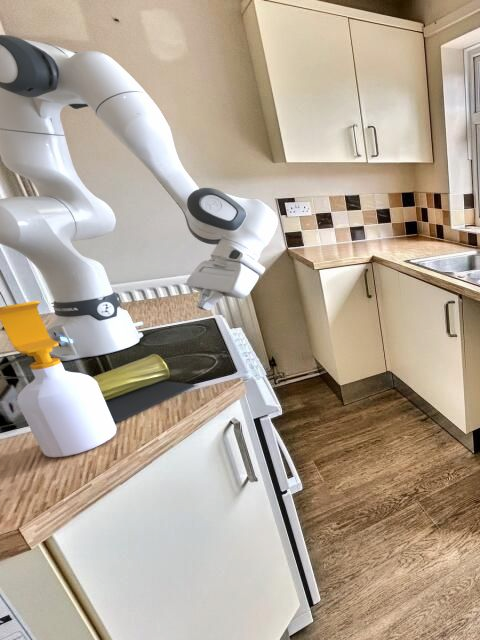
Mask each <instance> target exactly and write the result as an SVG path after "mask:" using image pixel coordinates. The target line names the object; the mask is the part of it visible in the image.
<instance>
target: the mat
mask: <svg viewBox="0 0 480 640" xmlns="http://www.w3.org/2000/svg"><path fill="white" fill-rule="evenodd" d="M193 387H195V385H194V384H193V383H185V382H178V381H177V382H176V381H170V380H169V381H168V380H163V381H160V382H157V383H154V384H151V385H148V386H146V387H143V388H140V389H137V390H134V391H131V392H128V393H126V394H123V395H120V396H117V397H114V398H111V399H109V400H106V401H105V402H106V405H107V407H108V409H109V412H110V414H111V416H112V419H113V421H114V423H115V424H118V423H120V422H123V421H125V420H127V419H128V418H130V417H133V416H134V415H138V414H139V413H141V412H143V411H145V410H148V409H149V408H152V407H153V406H156V405H158V404H161V403H162V402H164V401H166V400H168V399H170V398H173V397H174V396H177V395H179V394H180V393H183V392H185V391H188V390H189V389H192V388H193Z"/></svg>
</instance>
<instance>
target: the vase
mask: <svg viewBox="0 0 480 640" xmlns="http://www.w3.org/2000/svg"><path fill="white" fill-rule="evenodd" d="M91 377H92V378H93V379H94V380H95V381H96V382H97V384H98V386H99V388H100V391H101V393H102V395H103V398H104V400H105V401H106V400H109V399H111V398H114V397H117V396H120V395H123V394H126V393H128V392H131V391H134V390H137V389H140V388H143V387H146V386H148V385H151V384H154V383H157V382H160V381H167V380H168V379H169V378H170V370H169V366H168V365H167V363H166V362H165V360H164V359H163V358H162V357H161V356H160V355H158V354H156V353H152V354H150V355H148V356H146V357H144V358H141V359H137V360H135V361H133V362H129V363H127V364H124V365H122V366H119V367H116V368H114V369H110V370H107V371H106V372H102V373H99V374H97V375H94V376H91Z"/></svg>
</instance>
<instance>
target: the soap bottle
mask: <svg viewBox="0 0 480 640" xmlns="http://www.w3.org/2000/svg"><path fill="white" fill-rule="evenodd" d="M40 304H41V303H40V301H39V300H32V301H27V302H22V303H21V302H20V303H15V304H9V305H4V306H0V323H1V325H2V328H3V327H4V329H3V330H4V331H5V333H6V335H7V337H8V340H9V341H10V343H11V345H12V347H13V348H14V349H15V351H17V352H19V353H20V354H22V355H25V354H26V355H27V357H33V359H34V360H35V361H34V362H31V364H29V367H30V370H31V372H32V374H33V377H34V379H33V380H32V381H31V382H29V383H28V384H27V385H25V386H24V387H23V389H22V390H20V392H18V394H17V397H16V404H17V406H18V407H19V410H20V411H21V414H22V415H23V417H24V419H25V421H26V423H27V425H28V427H29V429H30V431H31V433H32V434H33V437H34V438H35V441H36V443H37V445H38V446H39V448H40V450H41V452H42V454H44V456H46V457H49V458H62V457H63V458H64V457H70V456H73V455H78V454H81V453H85V452H87V451H90V450H93V449H95V448H97V447H99V446H101V445H103V444H104V443H106V442H108V441H109V440H111V439H112V438H113V437H114V436H115V435H116V434H117V425H116V423H115V422H114V421H113V419H112V416H111V414H110V412H109V409H108V407H107V405H106V402H105V400H104V398H103V395H102V393H101V391H100V388H99V386H98V384H97V382H96V381H95V380H94V379H93V378H92V377H93V376H90V375H88V374H85V373H81V372H74V371H68V370H65V368H64V364H63V363H62V360H60V359H59V358H53V357H50V355H49V352H51V351H53V350H52V347H56V346H58V345H59V344H58V342H56V341H54V340H52V339H51V338H50V336H49V334H48V332H47V327H46V325H45V324H44V322H43V319H42V317H41V314H40V313H39V310H38V307H39V305H40Z"/></svg>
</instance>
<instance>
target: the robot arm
mask: <svg viewBox="0 0 480 640" xmlns="http://www.w3.org/2000/svg"><path fill="white" fill-rule="evenodd" d="M67 106H69V107H71V108H72V109H75V110H78V109H83V108H89V109H90V110H91V111H92V112H93V113H94V115H95V116H96V117H97V118H98V120H100V121H101V123H102V125H104V126H105V127H106V128H107V129H108V131H109V132H110V133H111V134H113V136H115V138H116V139H117V140H118V141H119V142H120V143H122V144H123V145H124V146H125V148H127V150H129V151H130V152H131V153H132V155H134V157H136V158H137V159H138V161H140V162H141V163H142V164H143V166H145V167H146V169H147V170H149V171H150V172H151V174H152V175H153V176H154V177H155V179H156V180H157V182H159V183H160V184H161V186H162V187H163V188H164V190H165V191H166V192H167V193H168V195H169V196H170V197H171V198H172V199H173V201H174V202H175V203H176V204H177V205H178V207H179V208H180V209H181V211H182V213H183V215H184V217H185V218H184V219H185V221H186V226H187V228H188V231H189V233H190V234H191V235H192V236H193V237H194V238H195V239H196V240H198V241H200V242H201V243H204V244H208V245H213V246H215V245H216V246H215V248H214V249H213V250H212V252H211V253H210V259H208V260H203V261H202V262H200V263H199V264H198V265H197V267H195V268H194V270H193V271H192V273H190V275H189V277H188V278H187V280H186V286H187V287H189V288H191V289H193V290H194V291H197V292H199V293H200V294H199V300H198V301H197V304H196V305H195V306H196V308H198V309H200V310H203V311H208V312H209V311H211V310H212V309H213V307H214V306H215V305H216V304H217V303H218V302H220V301H221V300H222V298H223V297H228V298H233V299H240V300H242V299H245V298H246V297H248V296H249V294H250V293H251V292H252V290H253V289H254V287H255V285H256V284H257V282H258V280H259V276H262V275H264V273H265V271H266V268H265V266H263V265H262V264H260V262H259V260H260V258H261V254H262V252H263V250H265V249H266V248H267V247H268V245H269V244H270V242H271V240H272V239H273V236H274V235H275V233H276V231H277V229H278V224H279V218H278V215H277V214H276V212H275V211H274V209H273V208H272V207H271V206H270V205H268V204H267V203H266V202H264V201H262V200H261V199H258V198H251V197H250V198H246V197H245V198H244V197H238V196H234V195H231V194H228V193H226V192H223V191H222V190H219V189H217V188H212V187H201V188H200V187H199V186H198V185H197V184H196V182H195V181H194V180H193V178H192V177H191V176H190V174H189V173H188V172H187V171H186V170H185V169H186V168H184V166H183V165H182V162H181V160H180V158H179V155H178V153H177V150H176V149H177V148H176V146H175V142H174V138H173V134H172V130H171V127H170V125H169V124H168V122H167V120H166V118H165V116H164V115H163V113H162V111H161V110H160V108H159V107H158V105H157V104H156V102H155V101H154V100H153V99H152V98H151V96H150V95H149V94H148V93H147V92H146V91H145V89H144V88H143V87H142V86H141V85H140V84H139V82H137V81H136V79H134V77H132V75H131V74H130V73H129V72H128V71H126V70H125V69H124V68H123V66H121V65H120V64H119V63H118V62H117V61H116V60H114V59H113V58H112V57H111V56H109V55H108V54H106V53H103V52H101V51H96V50H83V51H81V50H80V51H78V52H77V51H72V50H69V49H66V48H63V47H60V46H58V45H55V44H50V43H48V42H41V41H40V42H39V41H35V40H29V39H24V38H20V37H17V36H14V35H8V34H0V158H1V162H2V163H3V165H4V166H5V167H6V168H7V169H8V170H10V171H11V172H12V173H15V174H16V175H18V176H21V177H23V178H25V179H27V180H29V181H30V183H32V184H33V186H34V187H35V188H36V190H37V192H38V195H32V196H31V195H30V196H10V197H4V198H0V245H2V246H5V247H8V248H10V249H12V250H14V251H16V252H18V253H19V254H20V255H22V256H23V257H25V258H26V259H28V260H29V261H30V262H31V263H32V264H33V265H34V266H35V267H36V269H38V271H39V272H40V274H41V275H42V277H43V279H44V281H45V283H46V285H47V287H48V289H49V291H50V294H51V295H52V297H53V300H54V301H53V302H51V303H50V304H51V305H52V306H51V307H52V308H53V310H54V315H56V316H55V318H53V320H52V322H51V323H50V324H49V326H48V327H46V330H47V332H48V334H49V336H50V338H51V339H52V340H54V341H56V342H58V344H59V345H58V346H56V347H52V350H53V351H51V352H49V355H50V357H51V358H59V359H60V361H61V362H67V361H72V360H78V359H83V358H89V357H90V358H91V357H96V356H102V355H106V354H111V353H114V352H119V351H122V350H125V349H127V348H130V347H133V346H135V345H136V344H138V343H140V340H141V339H142V338H143V337H144V334H143V332H141V331H138V330H137V328H136V327H138V326H142V325H143V324H144V323H143V321H139V322H135V323H134V322H133V320H132V317H131V316H130V314H129V312H128V311H127V310H126V309H123V308H122V307H120V306H121V302H120V298H119V297H118V295H117V293H116V292H114V291H113V288H112V285H111V282H110V280H109V278H108V275H107V272H106V269H105V267H104V265H103V264H102V263H100V262H99V261H98V260H95V259H93V258H91V257H88V256H87V257H86V256H84V255H82V253H80V252H79V251H78V250H77V249H76V248H75V247H74V245H73V244H72V242H79V241H85V240H86V241H87V240H93V239H97V238H100V237H103V236H105V235H107V234H110V233H112V232H113V231H114V230H115V228H116V224H117V219H116V215H115V213H114V211H113V209H112V208H111V207H110V206H109V205H108V203H106V202H105V200H102V199H101V198H99V197H97V196H96V195H94V194H93V193H92V192H91V191H90V190H89V189H88V188H87V187H86V186H85V184H84V183H83V181H82V180H81V178H80V177H79V175H78V173H77V171H76V169H75V167H74V164H73V160H72V158H71V153H70V150H69V146H68V143H67V138H66V135H65V131H64V127H63V123H62V120H61V119H62V118H61V112H62V109H63V108H64V107H67ZM1 330H3V331H4V330H5V329H4V327H3V326H2V327H1Z"/></svg>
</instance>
